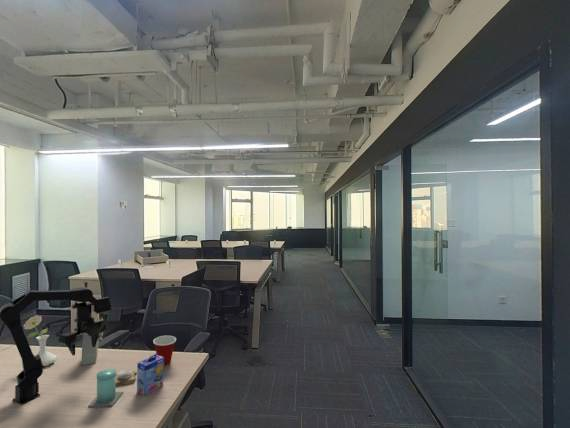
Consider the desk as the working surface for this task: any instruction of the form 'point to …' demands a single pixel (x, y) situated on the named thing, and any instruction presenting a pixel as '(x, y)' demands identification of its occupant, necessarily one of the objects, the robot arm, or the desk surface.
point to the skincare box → (88, 350)
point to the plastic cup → (165, 347)
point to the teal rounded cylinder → (106, 385)
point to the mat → (107, 404)
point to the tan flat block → (125, 377)
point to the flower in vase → (40, 340)
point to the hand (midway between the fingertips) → (83, 351)
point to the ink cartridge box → (150, 374)
